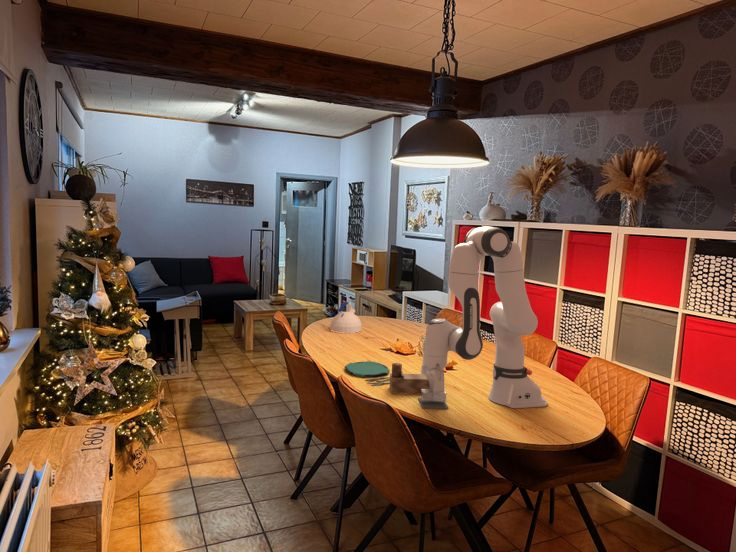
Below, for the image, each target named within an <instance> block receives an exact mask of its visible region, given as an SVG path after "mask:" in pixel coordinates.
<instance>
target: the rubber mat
mask: <svg viewBox="0 0 736 552" xmlns="http://www.w3.org/2000/svg"><path fill="white" fill-rule="evenodd" d="M417 400H418V402H419V405H420V407H421V406H422V407H421V408H422V410H424V409H425V410H449V409H450V408H449V406H448V404H447V401H425V400H422V398H421V397H418V398H417Z"/></svg>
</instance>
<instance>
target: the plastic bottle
mask: <svg viewBox="0 0 736 552" xmlns="http://www.w3.org/2000/svg"><path fill="white" fill-rule="evenodd" d="M425 348H426V344H425V340H423V342H422V364H421V368H420V374H425V365H424V351H425Z"/></svg>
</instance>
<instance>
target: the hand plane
mask: <svg viewBox="0 0 736 552" xmlns="http://www.w3.org/2000/svg"><path fill="white" fill-rule="evenodd" d="M402 365H403V364H402V363H400V362H394V363H391V373H390V372H389V377H390V378H389V379H390V380H389V382H390V384H389V390H390V393H391V394H416V393H420V394H419V395H421V389H430V385H429V381H428V379H427V377H426V374H421V373H404V372H403V370H402V369H403V366H402Z"/></svg>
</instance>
